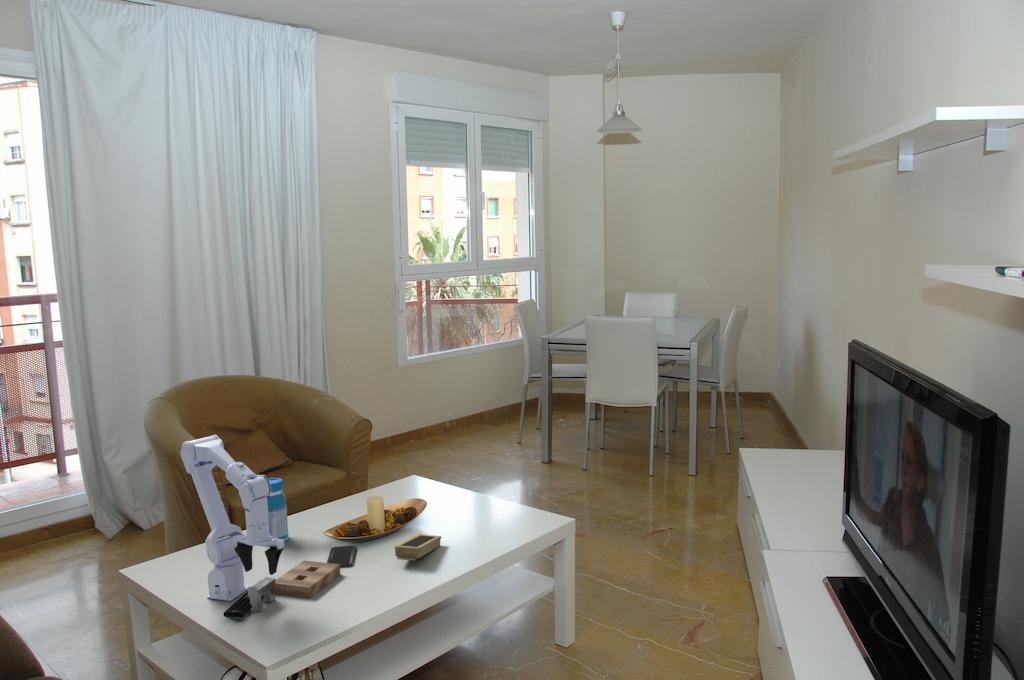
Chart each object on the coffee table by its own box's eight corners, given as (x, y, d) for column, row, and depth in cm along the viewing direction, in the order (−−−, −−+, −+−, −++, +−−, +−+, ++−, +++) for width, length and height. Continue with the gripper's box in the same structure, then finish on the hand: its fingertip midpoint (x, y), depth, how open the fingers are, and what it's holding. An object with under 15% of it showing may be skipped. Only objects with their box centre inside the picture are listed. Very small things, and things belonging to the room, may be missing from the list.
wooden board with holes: (310, 598, 215) (309, 587, 214) (272, 593, 218) (271, 582, 218) (340, 574, 230) (339, 564, 229) (304, 570, 233) (303, 560, 233)
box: (393, 563, 233) (394, 546, 233) (420, 547, 255) (420, 531, 255) (419, 565, 231) (420, 548, 231) (444, 549, 253) (445, 533, 253)
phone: (356, 545, 250) (352, 564, 235) (356, 548, 250) (352, 567, 235) (331, 547, 249) (325, 566, 234) (331, 550, 249) (325, 569, 234)
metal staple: (258, 612, 207) (257, 590, 206) (249, 611, 208) (247, 589, 207) (276, 599, 214) (275, 578, 214) (267, 598, 215) (265, 577, 215)
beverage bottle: (282, 545, 254) (278, 484, 251) (257, 544, 255) (253, 484, 253) (293, 535, 262) (289, 477, 260) (269, 534, 263) (265, 476, 261)
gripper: (289, 519, 210) (293, 568, 212) (243, 515, 214) (247, 563, 216) (274, 528, 203) (277, 579, 205) (226, 524, 208) (230, 573, 209)
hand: (260, 571), depth 210 cm, fingers open, 7 cm apart
